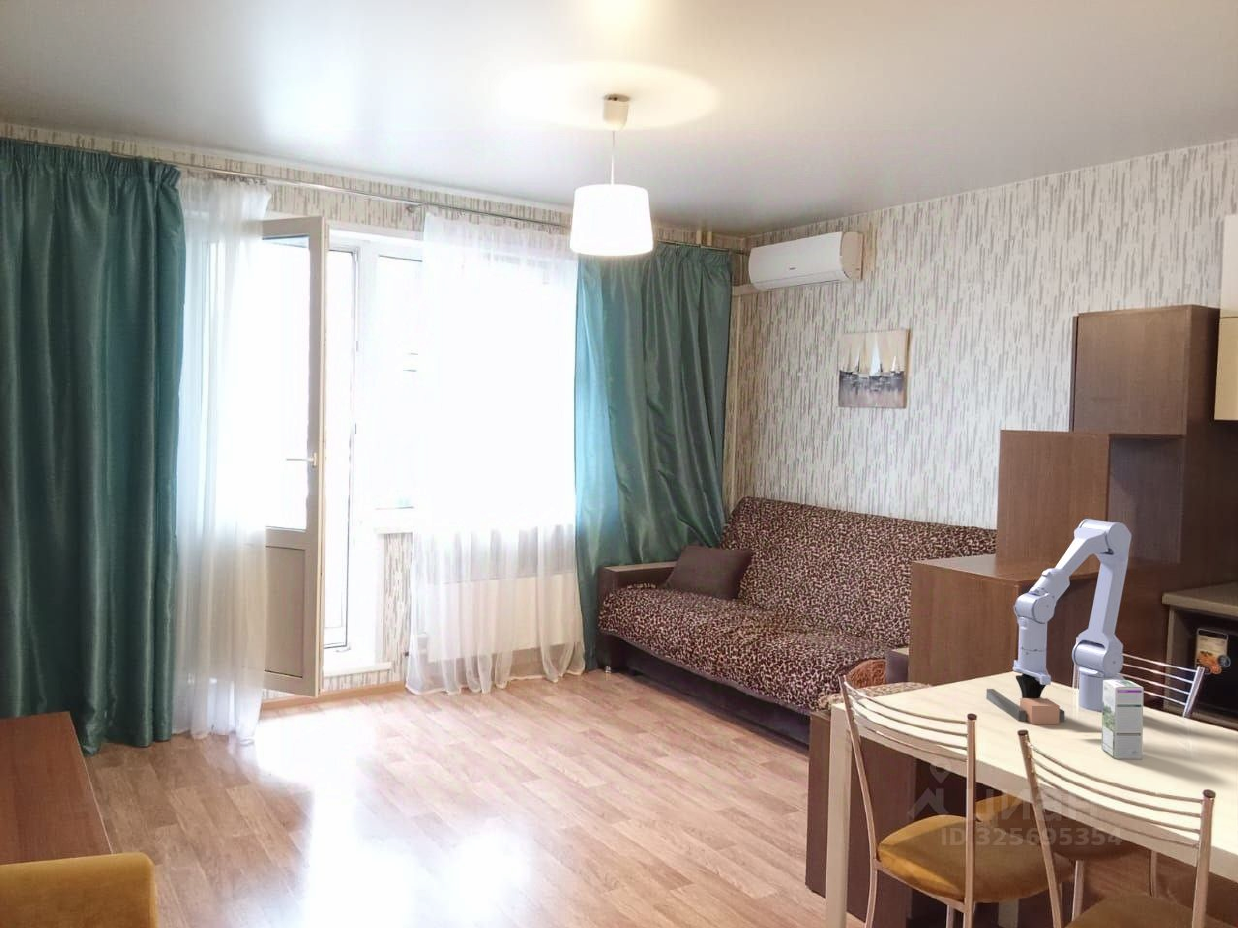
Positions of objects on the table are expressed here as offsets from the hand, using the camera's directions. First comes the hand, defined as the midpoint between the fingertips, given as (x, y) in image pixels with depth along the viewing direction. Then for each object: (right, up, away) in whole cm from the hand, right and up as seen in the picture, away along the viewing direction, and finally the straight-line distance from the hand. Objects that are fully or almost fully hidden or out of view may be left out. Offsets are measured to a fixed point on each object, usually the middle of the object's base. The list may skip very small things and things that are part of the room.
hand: (1030, 708), depth 220 cm
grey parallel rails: (0, -2, +4) cm, 4 cm away
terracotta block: (0, -1, -4) cm, 5 cm away
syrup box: (+8, -4, -23) cm, 25 cm away
